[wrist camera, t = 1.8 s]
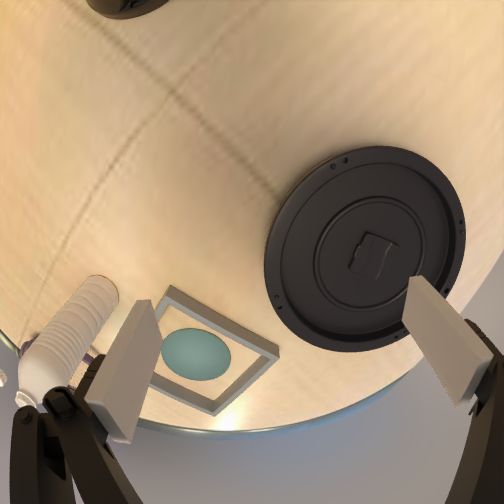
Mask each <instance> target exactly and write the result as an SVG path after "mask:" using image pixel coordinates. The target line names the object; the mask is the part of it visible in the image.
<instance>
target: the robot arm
mask: <svg viewBox="0 0 504 504" xmlns="http://www.w3.org/2000/svg"><path fill="white" fill-rule="evenodd" d="M86 1H87V3H88V5H89V6H90V7H91V8H92V9H93V10H95V11H96V12H98V13H99V14H101V15H102V16H104V17H107V18H111V19H128V18H133V17H137V16H140V15H143V14H146V13H148V12H150V11H152V10H154V9H156V8H158V7H160V6H161V5H163V4H164V3H166V2H167V1H168V0H86ZM402 322H403V323H404V325H405V326H406V328H407V329H408V331H409V332H410V334H411V335H412V337H413V338H414V340H415V341H416V343H417V344H418V346H419V348H420V349H421V351H422V352H423V354H424V355H425V357H426V358H427V360H428V362H429V363H430V365H431V366H432V368H433V370H434V371H435V373H436V375H437V376H438V378H439V380H440V381H441V383H442V385H443V386H444V388H445V390H446V391H447V393H448V395H449V396H450V398H451V400H452V402H453V403H454V405H455V407H459V406H462V405H464V404H466V403H469V401H470V400H471V398H472V397H473V395H474V393H475V394H476V396H477V397H478V399H477V401H476V402H475V404H474V405H473V407H472V409H471V411H470V412H469V415H471V413H472V412H473V416H472V421H471V425H470V429H469V433H468V437H467V440H466V444H465V448H464V451H463V455H462V458H461V461H460V464H459V467H458V470H457V473H456V476H455V479H454V482H453V484H452V487H451V490H450V492H449V495H448V497H447V500H446V502H445V504H504V355H502V354H501V353H500V352H499V350H498V349H497V348H496V347H495V345H494V344H493V343H492V342H491V341H490V340H489V338H487V337H486V335H485V334H484V333H483V332H481V329H480V328H479V327H478V326H477V325H476V324H475V323H473V322H472V321H470V320H468V319H463V318H462V317H461V316H460V315H459V314H458V313H457V312H456V311H455V310H454V308H453V307H452V306H451V305H450V304H449V303H448V302H447V301H446V300H445V299H444V298H443V297H442V296H441V295H440V294H439V293H438V291H437V290H436V289H435V288H434V287H433V286H432V285H431V284H430V283H429V282H428V281H427V280H426V279H425V278H424V277H423V276H422V275H421V276H413V277H410V278H409V285H408V290H407V296H406V301H405V306H404V311H403V316H402ZM163 343H164V342H163V339H162V336H161V333H160V330H159V326H158V323H157V320H156V316H155V313H154V310H153V306H152V303H151V300H137V301H136V303H135V304H134V306H133V308H132V310H131V311H130V313H129V315H128V317H127V318H126V320H125V322H124V324H123V325H122V327H121V329H120V331H119V333H118V334H117V336H116V338H115V340H114V342H113V343H112V345H111V347H110V349H109V351H108V353H107V355H104V354H99V355H98V356H97V357H96V358H95V359H94V360H92V361H91V363H90V365H89V367H88V369H87V371H86V372H85V374H84V376H83V378H82V380H81V381H80V383H79V385H78V387H77V389H76V391H75V393H74V395H73V394H72V393H71V391H70V390H69V388H67V387H65V386H57V387H54V388H52V389H50V390H49V391H48V392H47V393H46V394H45V395H44V397H43V399H42V405H43V406H44V407H45V409H46V410H47V411H48V413H39V412H38V411H37V409H36V408H35V407H34V406H32V405H26V406H23V407H21V408H20V409H18V410H17V412H16V413H15V415H14V419H13V427H12V437H11V451H10V504H76V501H75V495H74V489H73V482H72V477H73V479H74V481H75V484H76V486H77V489H78V491H79V493H80V495H81V498H82V500H83V502H84V504H143V502H142V501H141V499H140V498H139V496H138V495H137V493H136V492H135V490H134V488H133V487H132V485H131V484H130V482H129V480H128V479H127V477H126V475H125V474H124V472H123V470H122V468H121V467H120V465H119V463H118V461H117V459H116V458H115V456H114V454H113V452H112V450H111V448H110V446H109V444H108V443H107V442H106V439H107V436H108V434H109V435H110V436H111V438H112V439H113V440H114V441H116V442H122V443H128V444H131V441H132V438H133V434H134V431H135V427H136V424H137V421H138V418H139V415H140V412H141V408H142V405H143V402H144V399H145V396H146V393H147V390H148V387H149V384H150V381H151V378H152V375H153V372H154V369H155V366H156V363H157V360H158V357H159V354H160V351H161V348H162V346H163ZM71 474H72V475H71Z"/></svg>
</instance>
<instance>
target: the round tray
mask: <svg viewBox="0 0 504 504" xmlns="http://www.w3.org/2000/svg"><path fill="white" fill-rule="evenodd" d="M465 242H466V227H465V219H464V213H463V209H462V206H461V203H460V200H459V198H458V195H457V193H456V191H455V189H454V187H453V186H452V184H451V183H450V181H449V180H448V178H447V177H446V176H445V175H444V174H443V172H442V171H441V170H440V169H439V168H438V167H436V166H435V165H434V164H433V163H431V162H430V161H429V160H427V159H426V158H424V157H422V156H420V155H418V154H416V153H414V152H412V151H409V150H406V149H402V148H397V147H391V146H367V147H360V148H355V149H351V150H348V151H345V152H342V153H339V154H337V155H335V156H332V157H330V158H328V159H326V160H325V161H323V162H321V163H320V164H318V165H317V166H315V167H314V168H312V169H311V170H310V171H309V172H307V173H306V174H305V175H304V176H303V177H302V178H301V179H300V180H299V181H298V182H297V183H296V184H295V185H294V186H293V187H292V189H291V190H290V191H289V193H288V194H287V195H286V197H285V198H284V200H283V201H282V203H281V205H280V207H279V208H278V210H277V212H276V214H275V217H274V219H273V221H272V224H271V227H270V230H269V233H268V237H267V241H266V246H265V253H264V278H265V284H266V289H267V293H268V296H269V299H270V301H271V304H272V306H273V308H274V310H275V312H276V313H277V315H278V316H279V318H280V319H281V321H282V322H283V323H284V324H285V325H286V326H287V327H288V329H290V330H291V331H292V332H293V333H294V334H295V335H297V336H298V337H299V338H301V339H303V340H304V341H306V342H308V343H310V344H312V345H314V346H317V347H319V348H322V349H326V350H330V351H336V352H363V351H369V350H374V349H377V348H381V347H384V346H387V345H389V344H392V343H394V342H396V341H398V340H400V339H402V338H404V337H406V336H407V335H409V334H410V332H409V331H408V329H407V328H406V326H405V325H404V323H403V322H402V316H403V311H404V306H405V301H406V296H407V290H408V285H409V278H410V277H413V276H421V275H422V276H423V277H424V278H425V279H426V280H427V281H428V282H429V283H430V284H431V285H432V286H433V287H434V288H435V289H436V290H437V291H438V293H439V294H440V295H441V296H442V297H443V298H444V299H446V297H447V296H448V294H449V293H450V291H451V289H452V287H453V285H454V283H455V281H456V279H457V276H458V274H459V271H460V268H461V265H462V261H463V257H464V251H465Z"/></svg>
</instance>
